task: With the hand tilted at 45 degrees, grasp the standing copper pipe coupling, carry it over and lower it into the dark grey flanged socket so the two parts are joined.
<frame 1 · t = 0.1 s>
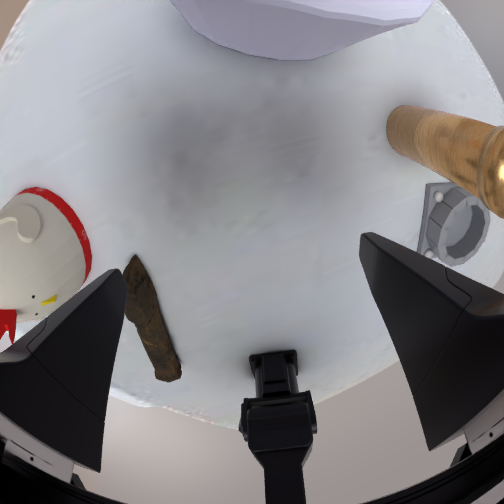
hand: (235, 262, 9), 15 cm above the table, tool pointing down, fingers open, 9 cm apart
coupling: (408, 130, 20), on the table
kitchen timer: (47, 241, 25), on the table
soap bottle: (262, 15, 15), on the table
hand tool: (151, 316, 32), on the table
socket: (450, 219, 25), on the table
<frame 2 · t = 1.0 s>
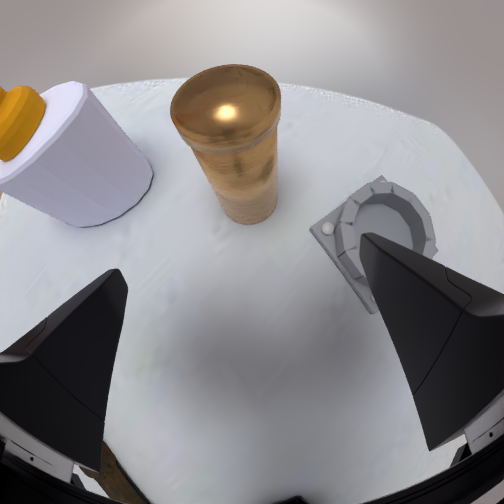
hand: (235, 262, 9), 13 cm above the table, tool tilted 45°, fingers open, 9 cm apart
coupling: (249, 198, 24), on the table
soap bottle: (103, 191, 26), on the table
hand tool: (126, 484, 19), on the table
socket: (377, 241, 22), on the table
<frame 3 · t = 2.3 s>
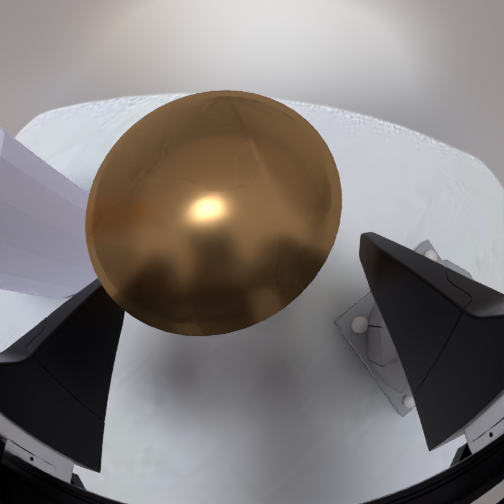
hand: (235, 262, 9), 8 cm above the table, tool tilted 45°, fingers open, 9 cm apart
coupling: (253, 276, 18), on the table
soap bottle: (68, 251, 20), on the table
socket: (416, 329, 16), on the table
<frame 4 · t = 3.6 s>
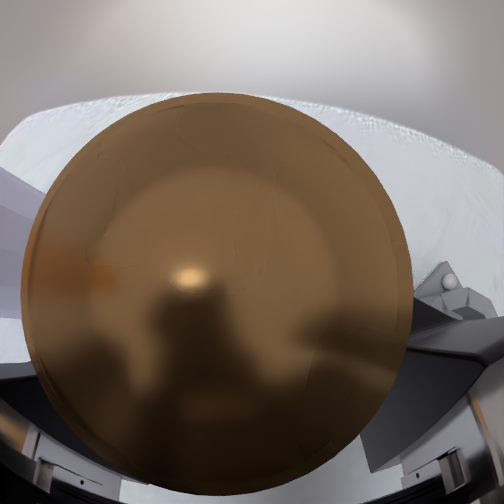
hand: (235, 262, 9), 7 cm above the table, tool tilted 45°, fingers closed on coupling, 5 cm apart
coupling: (254, 305, 15), on the table, touching gripper
soap bottle: (54, 269, 17), on the table
socket: (430, 358, 14), on the table
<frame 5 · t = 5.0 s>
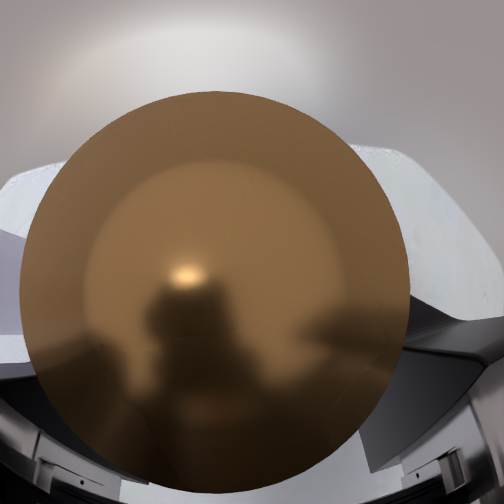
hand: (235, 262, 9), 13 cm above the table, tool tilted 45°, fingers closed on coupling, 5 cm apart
coupling: (254, 304, 15), point 7 cm above the table, touching gripper
soap bottle: (59, 295, 24), on the table
when the fingers open (8 cm above the table, at t = 6.9 s): coupling drops 1 cm, resting on socket.
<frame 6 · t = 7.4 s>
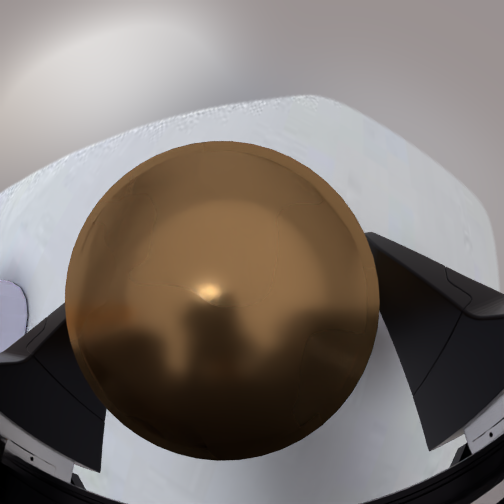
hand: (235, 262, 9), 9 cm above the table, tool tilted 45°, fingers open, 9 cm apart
coupling: (256, 306, 17), point 1 cm above the table, touching socket
soap bottle: (3, 324, 19), on the table
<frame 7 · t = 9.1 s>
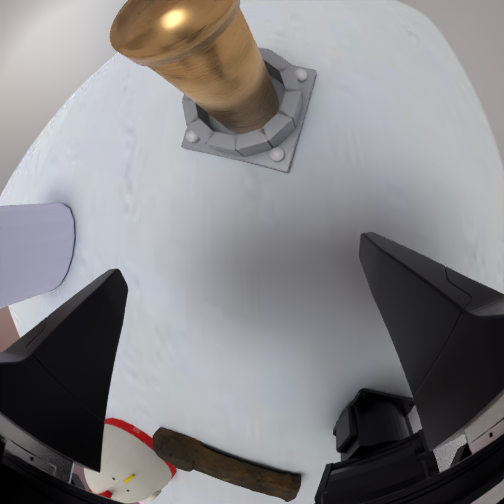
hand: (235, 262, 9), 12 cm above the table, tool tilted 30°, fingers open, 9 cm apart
coupling: (247, 105, 19), point 1 cm above the table, touching socket
kitchen timer: (137, 449, 31), on the table
soap bottle: (55, 248, 28), on the table
hand tool: (228, 458, 26), on the table
socket: (249, 108, 20), on the table
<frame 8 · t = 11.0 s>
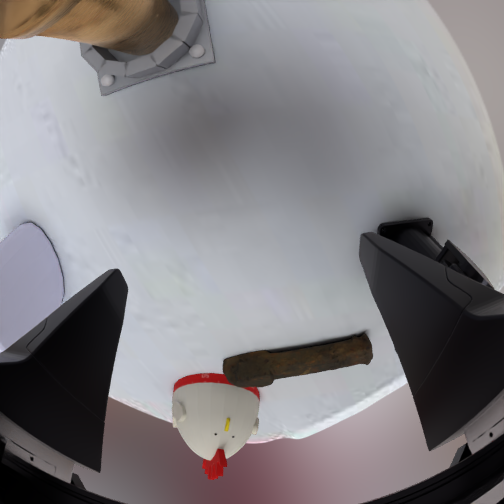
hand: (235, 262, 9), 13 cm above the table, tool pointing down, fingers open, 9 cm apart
coupling: (145, 26, 13), point 1 cm above the table, touching socket
kitchen timer: (216, 393, 39), on the table
soap bottle: (40, 267, 25), on the table
hand tool: (296, 351, 34), on the table
socket: (148, 28, 14), on the table
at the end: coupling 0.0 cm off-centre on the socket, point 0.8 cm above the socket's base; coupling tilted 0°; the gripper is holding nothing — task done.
